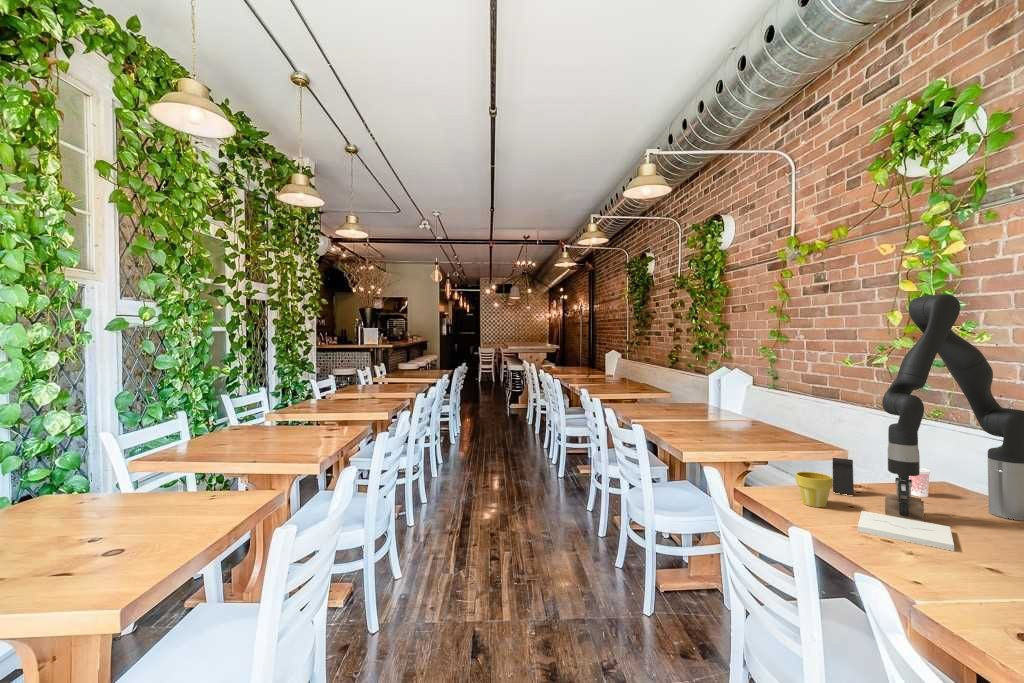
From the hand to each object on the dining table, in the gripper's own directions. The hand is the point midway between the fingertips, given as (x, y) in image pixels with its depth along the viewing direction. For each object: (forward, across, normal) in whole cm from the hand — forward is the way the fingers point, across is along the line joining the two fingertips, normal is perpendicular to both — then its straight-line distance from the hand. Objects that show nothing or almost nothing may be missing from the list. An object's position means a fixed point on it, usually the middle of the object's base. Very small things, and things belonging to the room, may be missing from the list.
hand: (904, 512), depth 143 cm
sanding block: (+1, 0, 0) cm, 1 cm away
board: (+1, -15, 0) cm, 15 cm away
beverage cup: (+2, +31, -4) cm, 31 cm away
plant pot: (+2, -4, +23) cm, 23 cm away
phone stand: (+2, +18, +17) cm, 25 cm away
